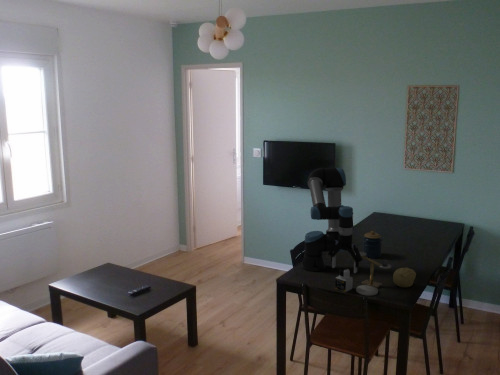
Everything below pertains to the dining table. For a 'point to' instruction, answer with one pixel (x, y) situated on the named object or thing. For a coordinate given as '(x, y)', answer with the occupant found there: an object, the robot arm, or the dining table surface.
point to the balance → (383, 265)
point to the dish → (367, 290)
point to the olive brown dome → (404, 277)
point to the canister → (372, 245)
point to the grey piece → (344, 280)
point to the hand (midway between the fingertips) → (344, 269)
